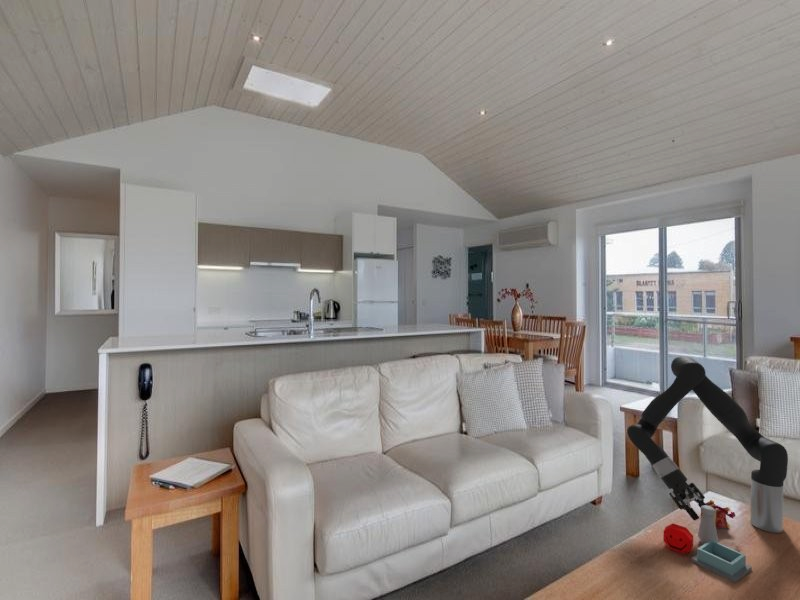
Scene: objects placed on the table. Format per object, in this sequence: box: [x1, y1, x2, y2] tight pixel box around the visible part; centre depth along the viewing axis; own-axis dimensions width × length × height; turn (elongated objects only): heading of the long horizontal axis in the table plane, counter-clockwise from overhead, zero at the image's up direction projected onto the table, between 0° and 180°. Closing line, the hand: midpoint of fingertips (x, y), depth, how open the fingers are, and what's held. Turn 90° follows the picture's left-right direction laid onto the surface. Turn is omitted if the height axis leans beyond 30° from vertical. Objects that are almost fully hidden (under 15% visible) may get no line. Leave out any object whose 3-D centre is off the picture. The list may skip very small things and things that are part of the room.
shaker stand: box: [691, 540, 753, 583], centre depth 135 cm, size 12×12×4 cm
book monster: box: [700, 499, 736, 530], centre depth 156 cm, size 11×9×12 cm
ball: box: [662, 523, 694, 555], centre depth 144 cm, size 8×8×8 cm
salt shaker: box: [697, 505, 719, 545], centre depth 147 cm, size 6×6×13 cm
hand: (702, 516), depth 148 cm, fingers open, 8 cm apart
